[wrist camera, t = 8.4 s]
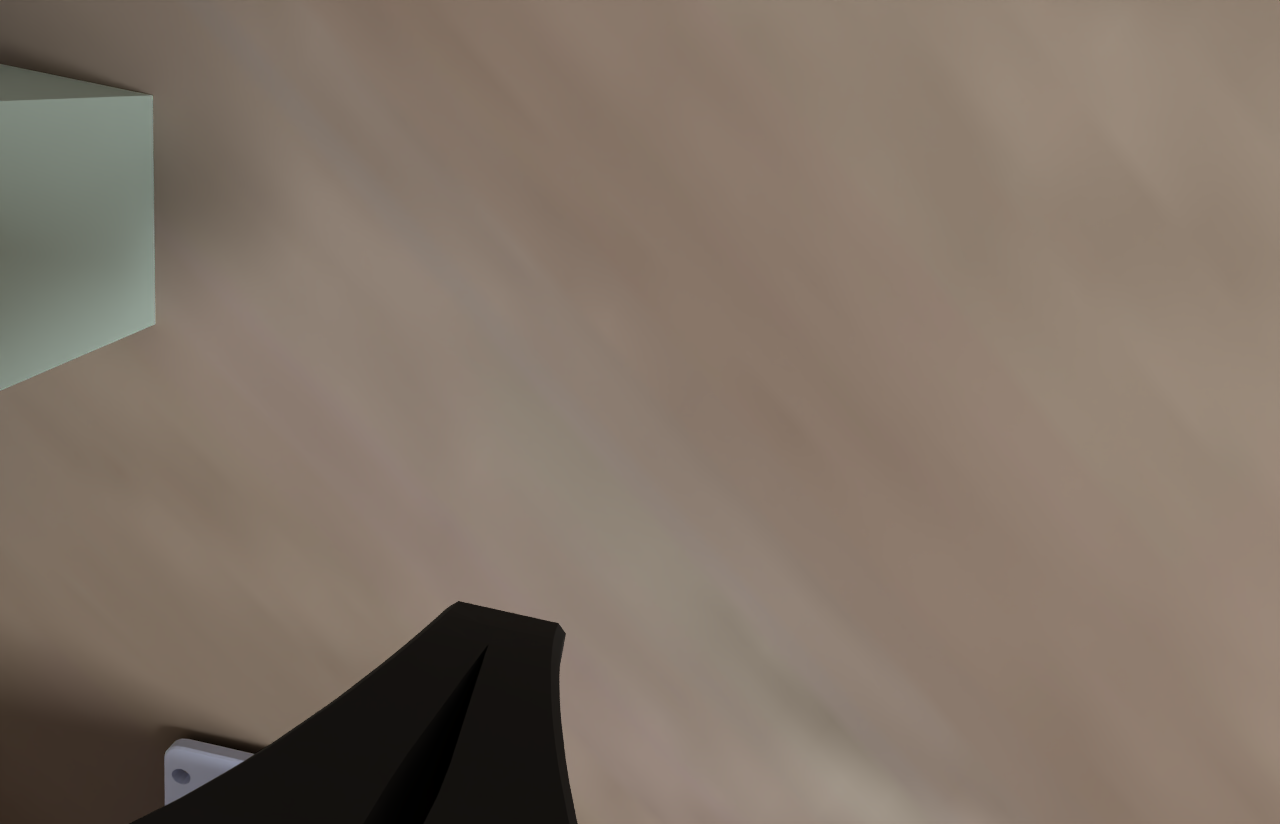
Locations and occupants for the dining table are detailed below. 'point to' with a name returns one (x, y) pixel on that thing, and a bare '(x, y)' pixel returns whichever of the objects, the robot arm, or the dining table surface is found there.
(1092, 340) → the dining table surface
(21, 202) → the block
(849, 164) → the dining table surface
